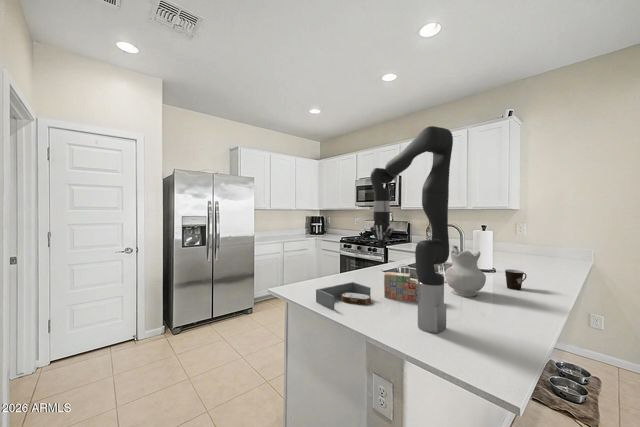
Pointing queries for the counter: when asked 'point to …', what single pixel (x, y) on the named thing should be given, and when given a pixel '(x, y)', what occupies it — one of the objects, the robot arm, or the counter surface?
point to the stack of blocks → (400, 287)
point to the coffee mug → (514, 279)
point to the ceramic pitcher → (465, 273)
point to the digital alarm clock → (356, 298)
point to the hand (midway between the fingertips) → (381, 247)
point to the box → (339, 292)
